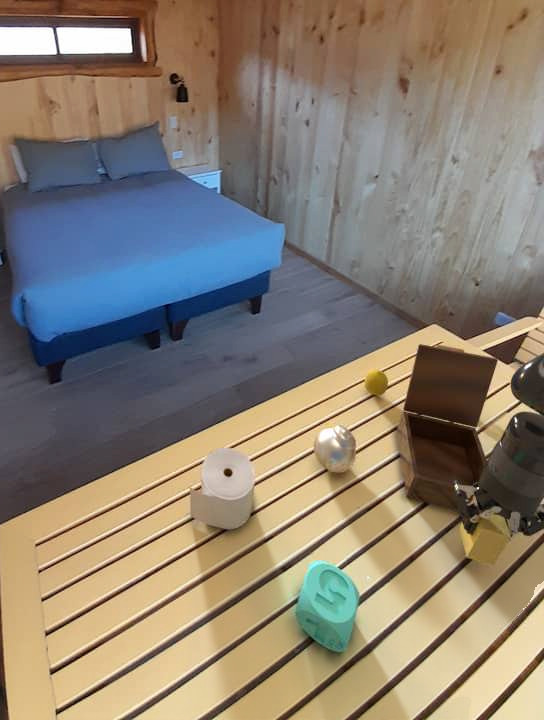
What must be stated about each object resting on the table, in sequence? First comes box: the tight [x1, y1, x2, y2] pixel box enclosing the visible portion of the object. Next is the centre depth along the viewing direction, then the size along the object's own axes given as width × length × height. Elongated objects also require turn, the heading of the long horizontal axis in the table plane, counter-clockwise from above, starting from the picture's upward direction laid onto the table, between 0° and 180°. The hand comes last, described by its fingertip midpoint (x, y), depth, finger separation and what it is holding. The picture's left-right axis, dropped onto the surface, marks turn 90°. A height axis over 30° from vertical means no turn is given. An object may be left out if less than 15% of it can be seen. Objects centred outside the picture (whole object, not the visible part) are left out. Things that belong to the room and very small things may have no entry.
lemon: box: [364, 369, 389, 396], centre depth 106 cm, size 6×6×8 cm
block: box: [459, 515, 512, 567], centre depth 70 cm, size 4×5×9 cm
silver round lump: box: [313, 424, 357, 474], centre depth 89 cm, size 9×10×10 cm
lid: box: [402, 343, 499, 428], centre depth 92 cm, size 18×15×5 cm
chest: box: [396, 410, 488, 513], centre depth 87 cm, size 17×15×7 cm
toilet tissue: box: [189, 447, 256, 530], centre depth 81 cm, size 11×12×10 cm
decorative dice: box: [294, 560, 361, 653], centre depth 65 cm, size 8×8×8 cm
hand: (483, 533), depth 70 cm, fingers closed on block, 4 cm apart
